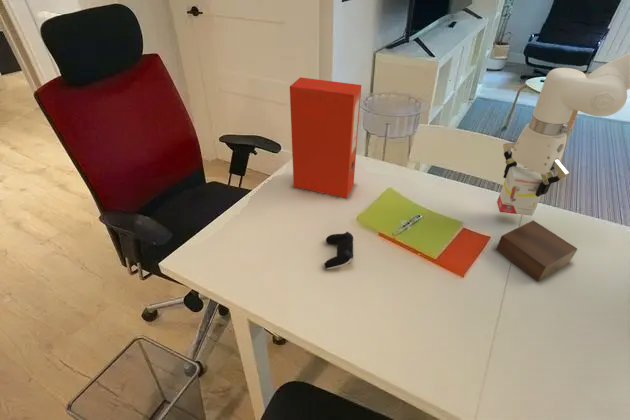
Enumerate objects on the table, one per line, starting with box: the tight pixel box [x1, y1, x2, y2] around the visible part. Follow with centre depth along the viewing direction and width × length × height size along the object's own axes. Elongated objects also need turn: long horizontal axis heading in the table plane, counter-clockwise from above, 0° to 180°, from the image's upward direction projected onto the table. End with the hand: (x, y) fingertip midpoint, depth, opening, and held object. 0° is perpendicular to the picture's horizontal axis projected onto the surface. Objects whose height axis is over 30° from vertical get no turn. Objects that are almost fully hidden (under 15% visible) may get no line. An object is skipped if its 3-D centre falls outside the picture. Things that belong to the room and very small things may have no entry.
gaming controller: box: [323, 231, 355, 270], centre depth 92 cm, size 11×4×7 cm
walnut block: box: [495, 219, 578, 282], centre depth 92 cm, size 12×12×5 cm
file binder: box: [289, 77, 362, 199], centre depth 107 cm, size 8×17×32 cm, turn 70°
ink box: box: [496, 166, 543, 217], centre depth 99 cm, size 9×5×12 cm, turn 76°
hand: (523, 185), depth 97 cm, fingers closed on ink box, 9 cm apart
